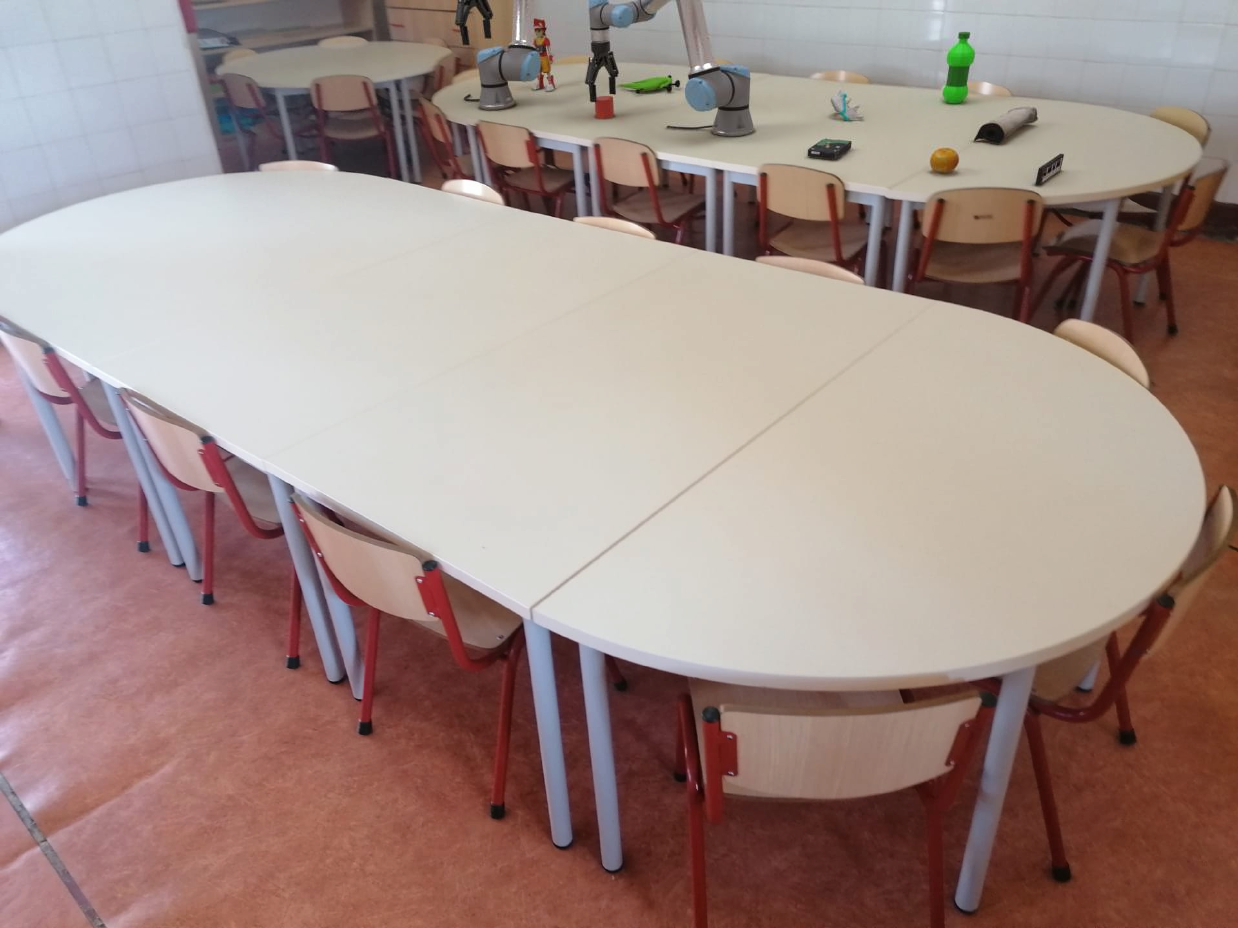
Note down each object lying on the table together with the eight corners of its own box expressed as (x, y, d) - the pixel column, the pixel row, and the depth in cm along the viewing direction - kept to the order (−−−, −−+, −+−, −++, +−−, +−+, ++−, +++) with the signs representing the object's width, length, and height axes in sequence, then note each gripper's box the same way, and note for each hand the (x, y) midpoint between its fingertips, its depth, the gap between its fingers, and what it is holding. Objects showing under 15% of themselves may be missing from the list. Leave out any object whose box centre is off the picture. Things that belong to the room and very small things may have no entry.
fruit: (924, 163, 281) (941, 140, 278) (925, 165, 289) (941, 143, 286) (946, 178, 280) (963, 155, 277) (947, 180, 288) (963, 158, 285)
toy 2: (689, 81, 403) (635, 80, 419) (688, 69, 400) (634, 69, 416) (655, 100, 386) (600, 99, 403) (654, 88, 383) (598, 87, 400)
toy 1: (527, 91, 410) (520, 18, 393) (536, 86, 417) (529, 15, 400) (551, 91, 406) (544, 19, 389) (559, 87, 413) (553, 15, 396)
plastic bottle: (973, 101, 354) (984, 32, 339) (955, 106, 349) (966, 36, 335) (952, 97, 361) (962, 29, 346) (934, 102, 356) (944, 33, 342)
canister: (599, 119, 361) (598, 101, 357) (593, 115, 367) (591, 97, 363) (616, 117, 364) (615, 98, 359) (610, 113, 369) (609, 95, 365)
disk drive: (836, 161, 300) (851, 148, 310) (836, 152, 298) (852, 140, 308) (806, 157, 305) (822, 145, 315) (807, 149, 303) (823, 137, 313)
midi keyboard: (1039, 185, 269) (1043, 168, 266) (1035, 184, 270) (1038, 168, 267) (1060, 170, 279) (1064, 154, 277) (1056, 169, 280) (1060, 153, 277)
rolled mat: (1005, 112, 327) (1029, 94, 319) (1019, 133, 327) (1043, 116, 319) (969, 134, 310) (993, 117, 301) (984, 157, 310) (1008, 139, 302)
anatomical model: (825, 90, 346) (851, 83, 346) (828, 117, 352) (853, 110, 352) (836, 99, 334) (863, 92, 333) (839, 127, 340) (865, 120, 339)
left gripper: (455, -16, 319) (464, 48, 332) (497, -26, 337) (504, 36, 349) (439, -17, 323) (448, 47, 335) (481, -26, 340) (489, 35, 352)
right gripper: (610, 34, 359) (612, 90, 372) (573, 46, 343) (577, 104, 355) (626, 36, 356) (627, 92, 368) (589, 48, 339) (592, 106, 351)
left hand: (477, 42), depth 342 cm, fingers open, 13 cm apart
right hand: (603, 98), depth 362 cm, fingers open, 13 cm apart
